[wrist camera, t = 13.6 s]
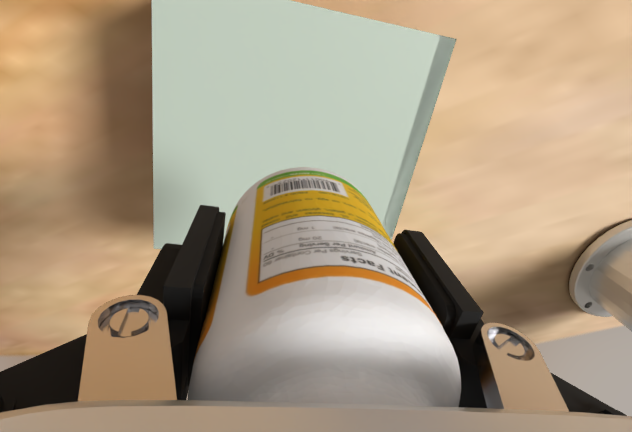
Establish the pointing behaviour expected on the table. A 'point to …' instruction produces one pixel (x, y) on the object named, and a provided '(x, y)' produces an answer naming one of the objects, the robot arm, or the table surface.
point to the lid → (284, 103)
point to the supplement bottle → (318, 305)
